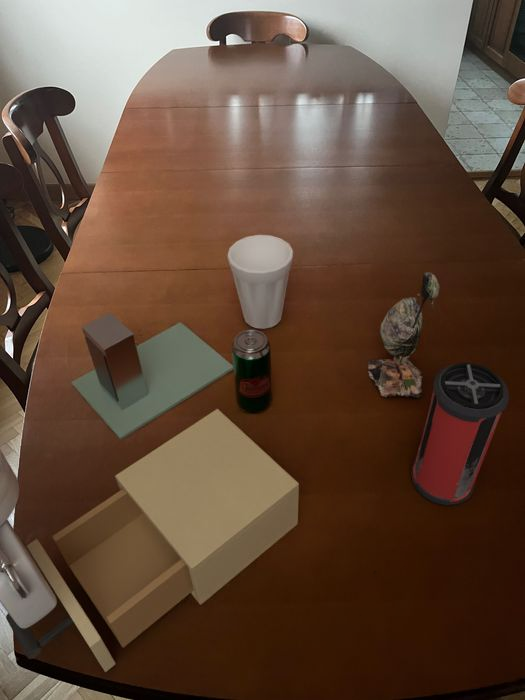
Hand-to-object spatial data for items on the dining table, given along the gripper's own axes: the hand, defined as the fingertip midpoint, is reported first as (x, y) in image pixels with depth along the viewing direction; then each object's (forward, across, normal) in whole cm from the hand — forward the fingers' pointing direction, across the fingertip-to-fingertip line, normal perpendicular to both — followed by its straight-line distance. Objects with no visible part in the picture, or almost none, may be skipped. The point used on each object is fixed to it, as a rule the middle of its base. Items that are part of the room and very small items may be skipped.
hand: (13, 565), depth 61 cm
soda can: (+7, +4, -36) cm, 37 cm away
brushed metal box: (+6, +18, -23) cm, 30 cm away
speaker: (+7, -22, -45) cm, 51 cm away
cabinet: (+6, -7, -20) cm, 22 cm away
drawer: (+5, -7, -6) cm, 11 cm away
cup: (+7, +17, -49) cm, 53 cm away
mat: (+7, +18, -28) cm, 34 cm away
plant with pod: (+7, -6, -55) cm, 56 cm away
